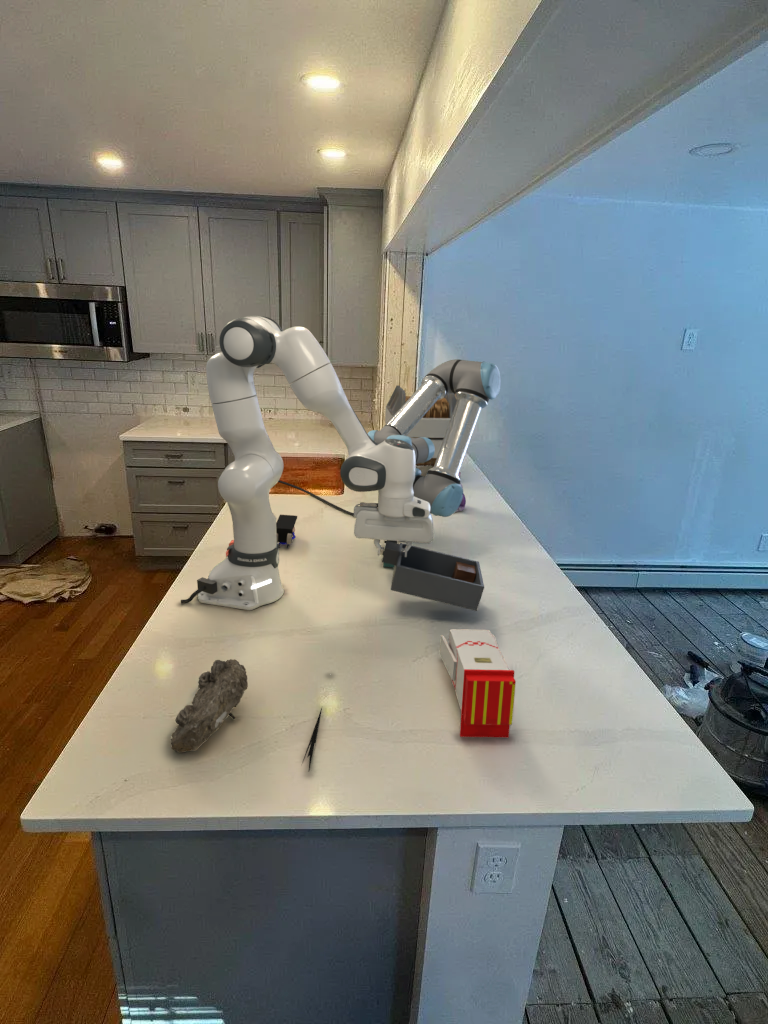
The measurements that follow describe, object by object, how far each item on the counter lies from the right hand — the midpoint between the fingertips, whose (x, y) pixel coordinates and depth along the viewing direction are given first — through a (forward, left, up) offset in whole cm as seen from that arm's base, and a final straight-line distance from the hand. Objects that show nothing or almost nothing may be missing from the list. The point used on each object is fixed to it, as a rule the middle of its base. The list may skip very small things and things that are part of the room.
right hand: (391, 554), depth 175 cm
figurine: (-24, +56, -3) cm, 61 cm away
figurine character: (-33, -18, -3) cm, 38 cm away
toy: (+57, -27, -3) cm, 63 cm away
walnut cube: (+30, -2, +3) cm, 30 cm away
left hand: (+20, -18, +12) cm, 29 cm away
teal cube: (0, +1, -4) cm, 3 cm away
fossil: (+32, -72, -3) cm, 79 cm away
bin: (+26, -11, +4) cm, 29 cm away
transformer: (-70, +80, -3) cm, 106 cm away
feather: (+45, -57, -3) cm, 73 cm away
